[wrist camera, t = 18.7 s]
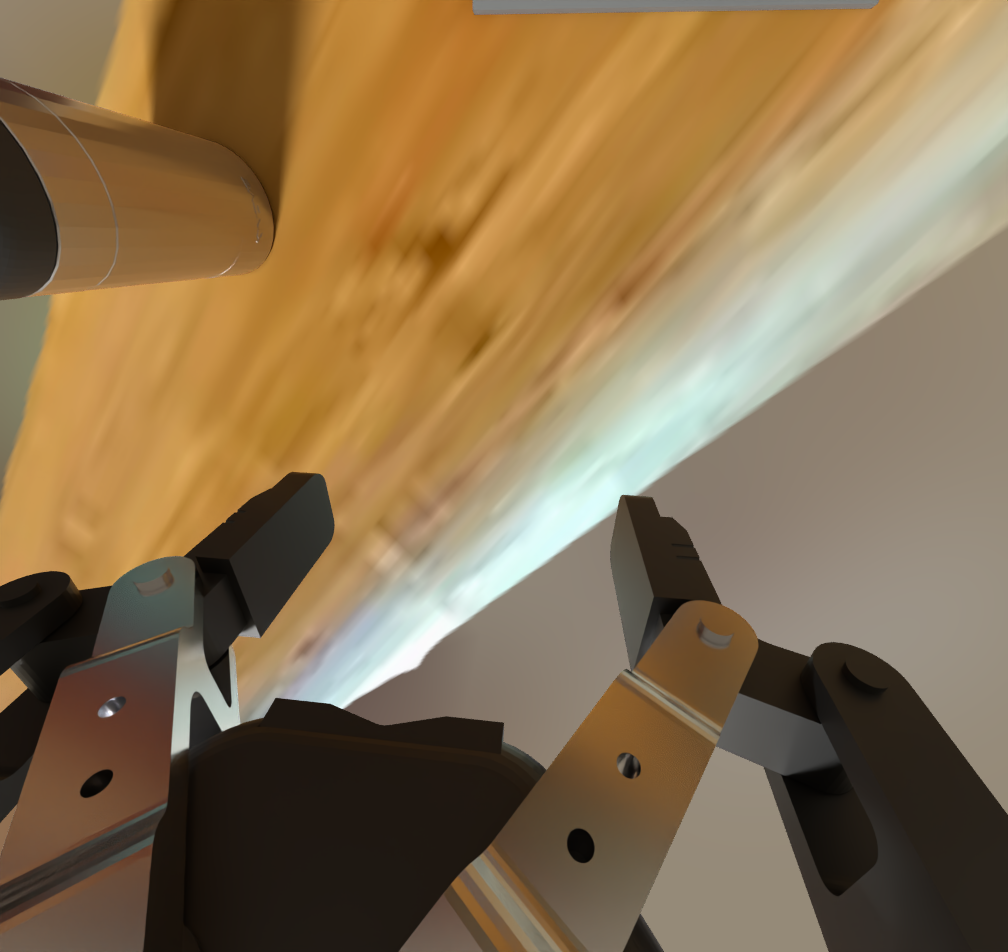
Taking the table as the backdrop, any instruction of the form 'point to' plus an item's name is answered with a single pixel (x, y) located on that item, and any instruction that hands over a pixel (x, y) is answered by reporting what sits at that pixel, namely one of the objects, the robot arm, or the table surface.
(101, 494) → the table surface
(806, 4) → the mat
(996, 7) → the table surface
